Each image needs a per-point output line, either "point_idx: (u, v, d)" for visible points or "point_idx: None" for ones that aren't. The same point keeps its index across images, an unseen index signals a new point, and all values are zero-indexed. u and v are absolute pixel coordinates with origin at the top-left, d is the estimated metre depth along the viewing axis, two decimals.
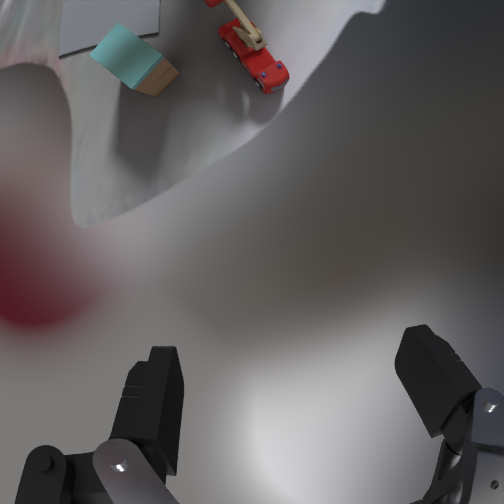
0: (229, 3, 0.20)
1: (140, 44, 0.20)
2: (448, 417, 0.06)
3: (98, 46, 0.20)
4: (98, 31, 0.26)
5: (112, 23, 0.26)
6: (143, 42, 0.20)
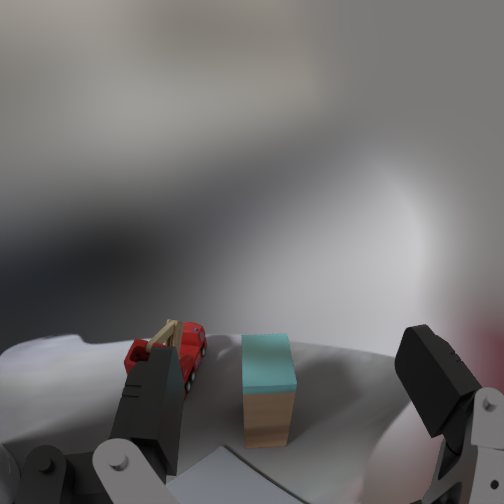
0: (158, 337, 0.27)
1: (247, 353, 0.24)
2: (448, 417, 0.06)
3: (281, 383, 0.21)
4: None
5: (248, 499, 0.19)
6: (243, 352, 0.24)
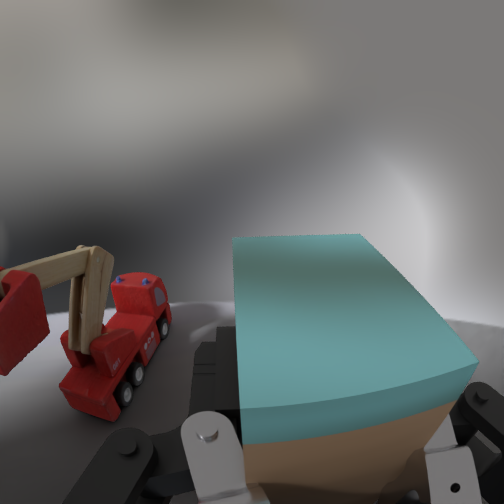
0: (33, 264, 0.09)
1: (252, 275, 0.07)
2: None
3: (425, 369, 0.04)
4: None
5: None
6: (239, 273, 0.07)
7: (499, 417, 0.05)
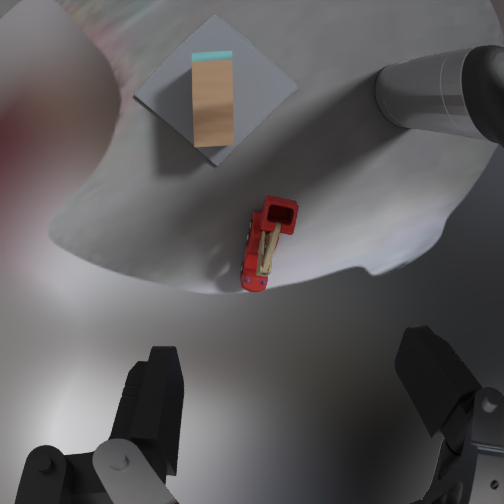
0: (272, 240, 0.31)
1: None
2: (448, 417, 0.06)
3: (220, 51, 0.25)
4: (179, 112, 0.33)
5: None
6: None
7: None
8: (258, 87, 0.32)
